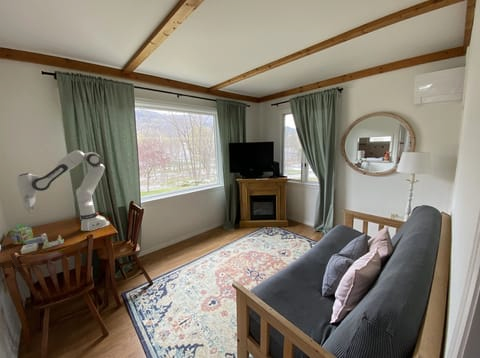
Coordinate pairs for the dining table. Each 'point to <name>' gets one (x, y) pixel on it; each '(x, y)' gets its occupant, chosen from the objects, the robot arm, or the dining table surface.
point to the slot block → (29, 248)
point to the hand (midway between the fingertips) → (31, 210)
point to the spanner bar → (34, 241)
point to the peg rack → (54, 243)
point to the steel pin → (43, 237)
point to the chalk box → (21, 234)
